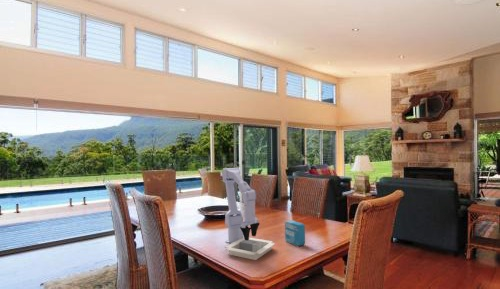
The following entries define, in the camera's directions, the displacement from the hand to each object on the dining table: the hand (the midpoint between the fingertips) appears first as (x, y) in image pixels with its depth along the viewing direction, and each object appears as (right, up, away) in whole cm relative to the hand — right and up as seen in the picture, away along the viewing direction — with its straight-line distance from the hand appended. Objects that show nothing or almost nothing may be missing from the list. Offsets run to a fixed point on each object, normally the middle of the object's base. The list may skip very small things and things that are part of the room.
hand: (250, 238), depth 154 cm
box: (0, -7, 0) cm, 7 cm away
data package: (+26, -7, +13) cm, 30 cm away
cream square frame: (0, -7, 0) cm, 7 cm away
